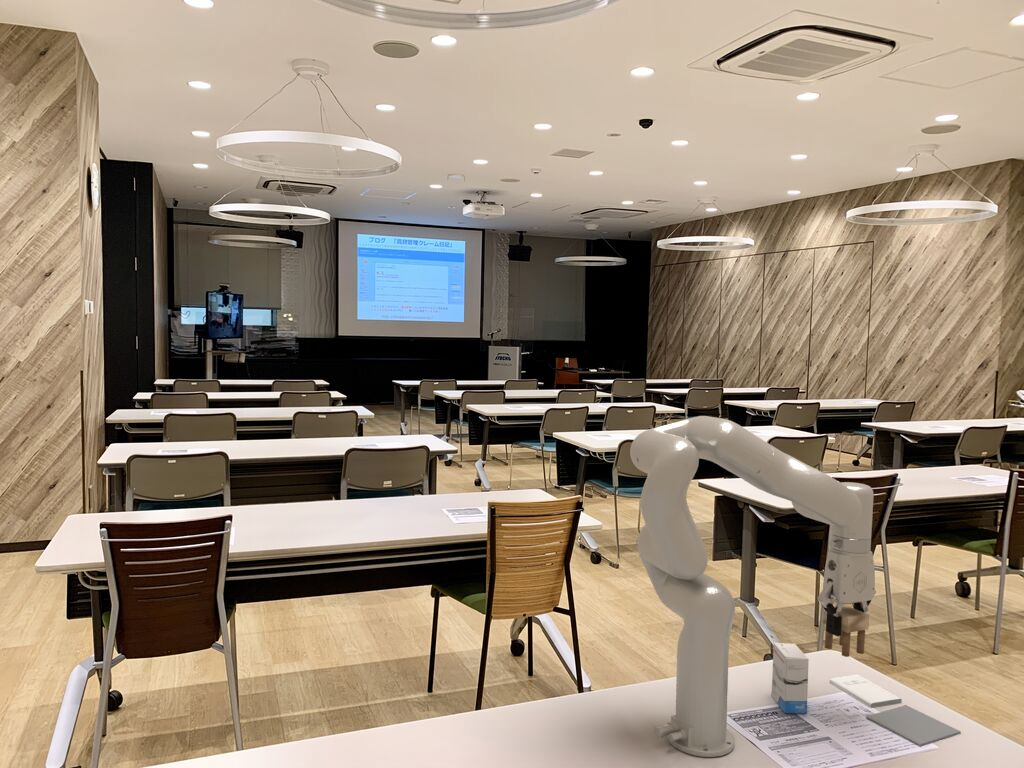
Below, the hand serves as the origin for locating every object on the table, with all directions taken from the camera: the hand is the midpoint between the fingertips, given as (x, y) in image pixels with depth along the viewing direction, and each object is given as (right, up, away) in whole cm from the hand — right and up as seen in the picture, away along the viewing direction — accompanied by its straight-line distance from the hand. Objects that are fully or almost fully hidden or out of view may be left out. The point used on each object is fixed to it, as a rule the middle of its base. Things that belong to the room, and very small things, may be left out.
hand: (845, 631), depth 153 cm
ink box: (-9, -18, +6) cm, 21 cm away
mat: (+13, -18, -2) cm, 22 cm away
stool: (0, -4, 0) cm, 4 cm away
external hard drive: (+10, -18, +13) cm, 24 cm away
